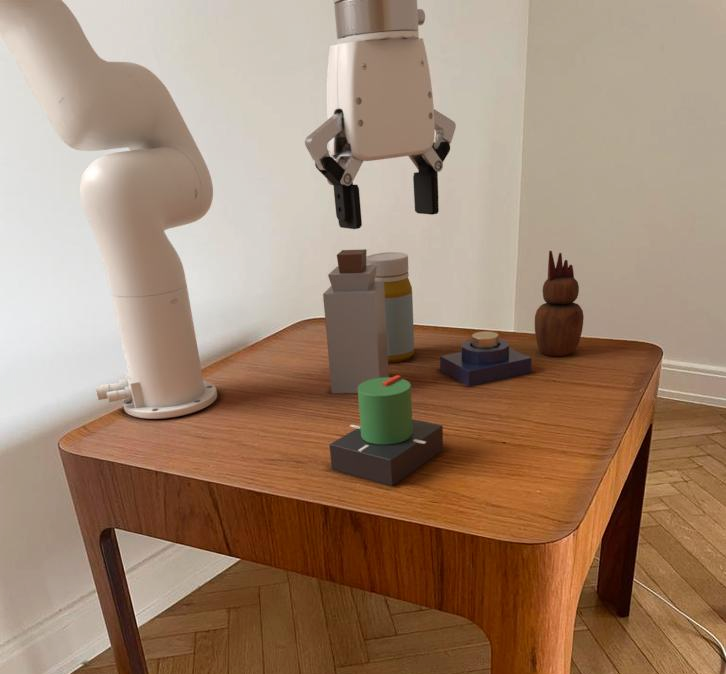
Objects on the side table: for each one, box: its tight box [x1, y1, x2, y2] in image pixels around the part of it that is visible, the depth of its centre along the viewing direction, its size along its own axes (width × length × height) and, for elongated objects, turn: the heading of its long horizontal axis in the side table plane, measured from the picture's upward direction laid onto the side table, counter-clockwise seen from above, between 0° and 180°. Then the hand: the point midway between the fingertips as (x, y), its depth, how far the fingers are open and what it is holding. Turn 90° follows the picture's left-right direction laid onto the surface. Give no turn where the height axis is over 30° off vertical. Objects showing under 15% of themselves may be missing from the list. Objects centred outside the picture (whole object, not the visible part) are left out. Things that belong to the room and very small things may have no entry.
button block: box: [439, 338, 532, 387], centre depth 105 cm, size 10×8×4 cm
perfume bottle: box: [322, 248, 390, 394], centre depth 100 cm, size 7×7×18 cm
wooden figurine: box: [534, 250, 585, 358], centre depth 107 cm, size 7×6×15 cm
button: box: [471, 331, 499, 349], centre depth 103 cm, size 4×4×2 cm
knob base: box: [329, 417, 444, 487], centre depth 81 cm, size 10×10×3 cm
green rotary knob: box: [357, 374, 413, 445], centre depth 79 cm, size 6×6×6 cm
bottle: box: [366, 251, 415, 364], centre depth 111 cm, size 7×7×15 cm
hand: (389, 220), depth 76 cm, fingers open, 9 cm apart
